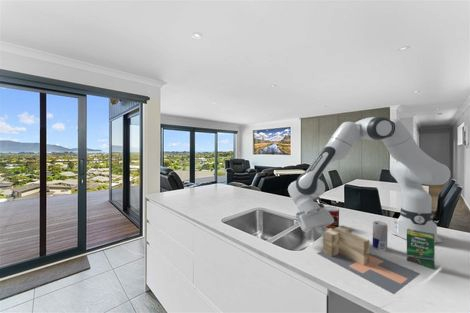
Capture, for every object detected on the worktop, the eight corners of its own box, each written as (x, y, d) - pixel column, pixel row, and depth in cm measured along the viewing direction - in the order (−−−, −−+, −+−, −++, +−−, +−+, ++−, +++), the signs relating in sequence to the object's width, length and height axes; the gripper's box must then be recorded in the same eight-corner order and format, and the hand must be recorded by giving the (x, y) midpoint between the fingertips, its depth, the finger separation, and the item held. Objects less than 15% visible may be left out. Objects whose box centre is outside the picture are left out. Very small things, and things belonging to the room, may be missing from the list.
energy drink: (373, 245, 93) (373, 220, 93) (387, 248, 90) (387, 222, 90) (371, 249, 89) (372, 223, 89) (386, 253, 86) (387, 226, 85)
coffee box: (405, 261, 80) (406, 229, 79) (407, 259, 82) (407, 227, 81) (433, 271, 73) (434, 236, 73) (434, 268, 75) (435, 234, 75)
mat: (344, 243, 95) (344, 242, 95) (420, 275, 71) (420, 273, 71) (316, 254, 86) (316, 253, 86) (393, 295, 61) (393, 294, 61)
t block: (342, 244, 93) (342, 225, 93) (375, 258, 81) (376, 236, 81) (323, 252, 86) (323, 232, 86) (356, 269, 74) (356, 245, 74)
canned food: (324, 228, 113) (325, 209, 113) (323, 223, 121) (323, 205, 120) (339, 230, 111) (340, 211, 110) (337, 225, 118) (338, 207, 118)
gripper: (297, 210, 94) (315, 238, 86) (325, 203, 104) (343, 228, 96) (290, 216, 98) (306, 244, 90) (318, 210, 108) (335, 234, 100)
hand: (326, 236), depth 93 cm, fingers closed
